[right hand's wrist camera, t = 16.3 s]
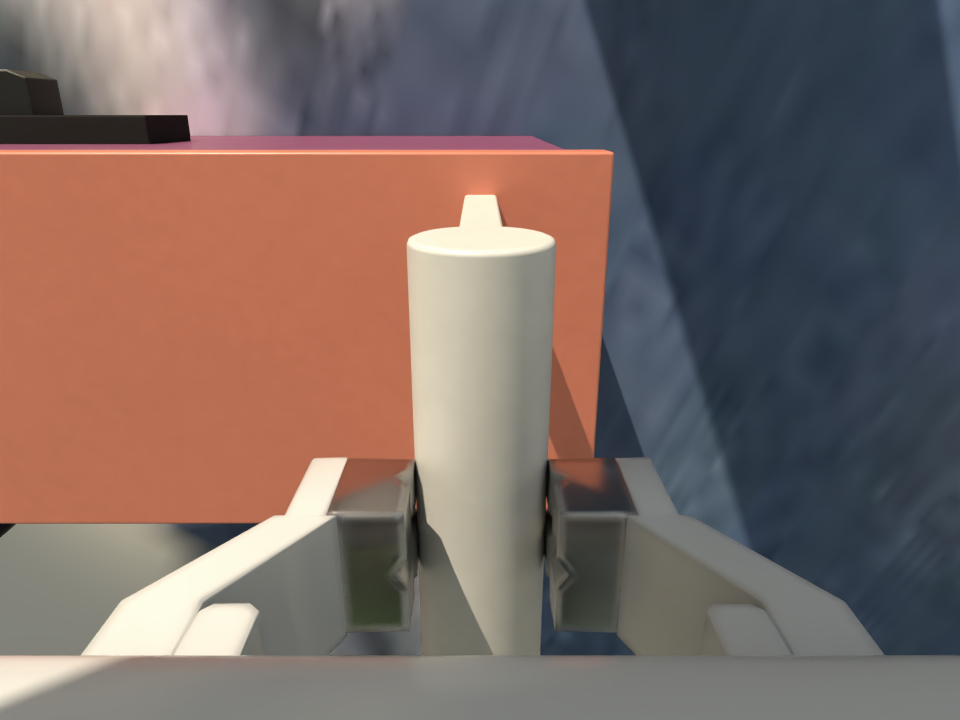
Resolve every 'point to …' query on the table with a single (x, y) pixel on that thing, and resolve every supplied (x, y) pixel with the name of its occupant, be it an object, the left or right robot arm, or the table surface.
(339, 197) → the lid
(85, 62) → the table surface
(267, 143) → the chest
